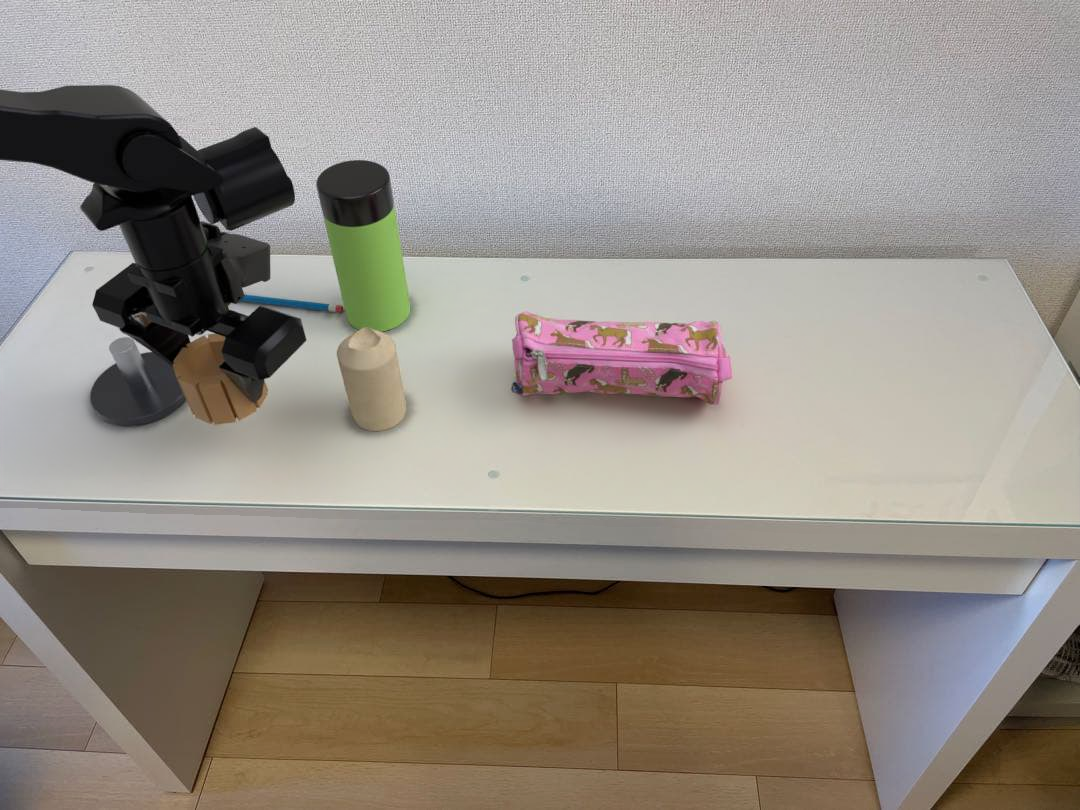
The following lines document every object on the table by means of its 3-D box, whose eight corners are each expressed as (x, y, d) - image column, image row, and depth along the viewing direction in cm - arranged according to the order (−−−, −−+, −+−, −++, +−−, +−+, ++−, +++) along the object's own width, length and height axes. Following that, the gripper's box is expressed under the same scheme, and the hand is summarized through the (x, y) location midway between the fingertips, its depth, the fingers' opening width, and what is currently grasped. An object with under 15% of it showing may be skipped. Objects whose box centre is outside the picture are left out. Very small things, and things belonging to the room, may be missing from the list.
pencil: (341, 313, 97) (340, 309, 97) (202, 297, 99) (200, 293, 99) (343, 309, 98) (342, 304, 97) (205, 293, 100) (203, 288, 99)
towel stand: (99, 439, 84) (73, 393, 80) (88, 376, 91) (63, 330, 86) (202, 406, 87) (182, 360, 83) (184, 347, 94) (164, 301, 89)
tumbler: (333, 311, 98) (299, 177, 85) (387, 282, 101) (361, 149, 88) (371, 342, 94) (341, 207, 81) (425, 311, 97) (404, 177, 85)
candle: (359, 390, 89) (342, 317, 81) (411, 394, 88) (399, 320, 81) (346, 430, 85) (326, 356, 78) (400, 433, 84) (386, 359, 77)
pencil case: (509, 416, 86) (505, 351, 79) (519, 353, 92) (516, 288, 86) (724, 428, 84) (738, 363, 78) (719, 363, 91) (731, 298, 84)
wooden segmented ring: (198, 434, 77) (181, 396, 74) (184, 384, 82) (167, 345, 78) (275, 409, 79) (261, 370, 76) (257, 361, 84) (243, 323, 80)
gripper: (326, 225, 70) (357, 362, 82) (154, 174, 76) (205, 309, 87) (238, 303, 64) (285, 441, 75) (56, 241, 69) (125, 378, 81)
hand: (225, 387), depth 80 cm, fingers closed on wooden segmented ring, 7 cm apart
